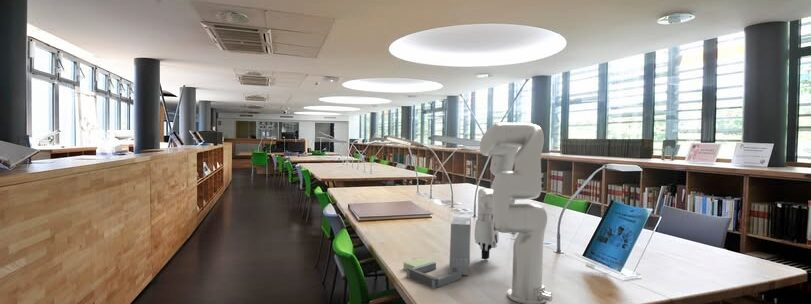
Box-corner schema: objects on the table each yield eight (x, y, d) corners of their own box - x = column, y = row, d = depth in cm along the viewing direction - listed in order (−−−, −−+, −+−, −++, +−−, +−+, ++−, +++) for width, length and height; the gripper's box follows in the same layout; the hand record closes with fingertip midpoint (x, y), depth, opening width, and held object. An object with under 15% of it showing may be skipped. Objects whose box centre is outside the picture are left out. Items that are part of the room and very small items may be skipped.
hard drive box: (468, 276, 147) (470, 225, 146) (449, 274, 148) (450, 223, 147) (470, 263, 162) (471, 216, 161) (452, 261, 163) (453, 215, 163)
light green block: (433, 268, 155) (433, 261, 155) (415, 274, 149) (415, 266, 149) (421, 264, 161) (421, 257, 161) (403, 269, 154) (403, 262, 154)
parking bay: (461, 278, 144) (461, 270, 144) (434, 288, 135) (435, 279, 134) (433, 267, 155) (433, 260, 155) (406, 276, 146) (406, 268, 146)
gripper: (506, 218, 162) (504, 261, 163) (477, 213, 174) (477, 252, 174) (495, 221, 157) (494, 264, 158) (467, 215, 169) (466, 256, 169)
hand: (485, 258), depth 166 cm, fingers closed
